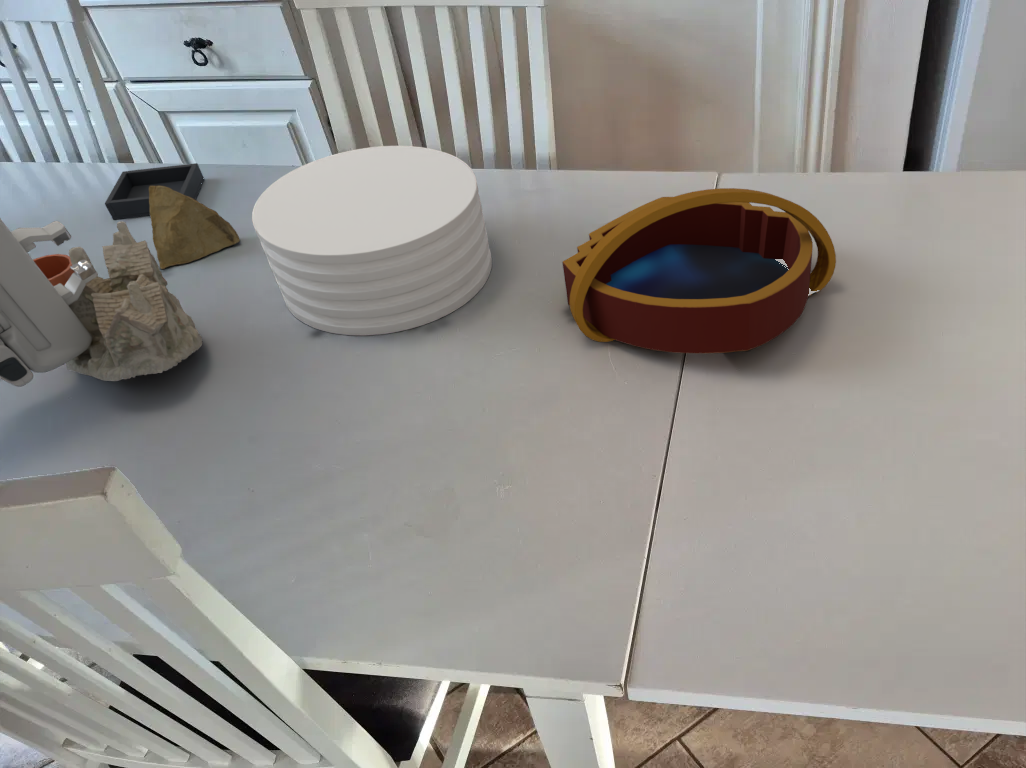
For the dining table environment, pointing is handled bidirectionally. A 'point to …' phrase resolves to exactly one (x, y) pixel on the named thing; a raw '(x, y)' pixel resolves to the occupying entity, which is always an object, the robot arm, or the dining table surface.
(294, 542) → the dining table surface
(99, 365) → the ceramic cottage
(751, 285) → the decorative basket
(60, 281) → the cup
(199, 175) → the tray
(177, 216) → the rock
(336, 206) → the plate stack
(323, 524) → the dining table surface
